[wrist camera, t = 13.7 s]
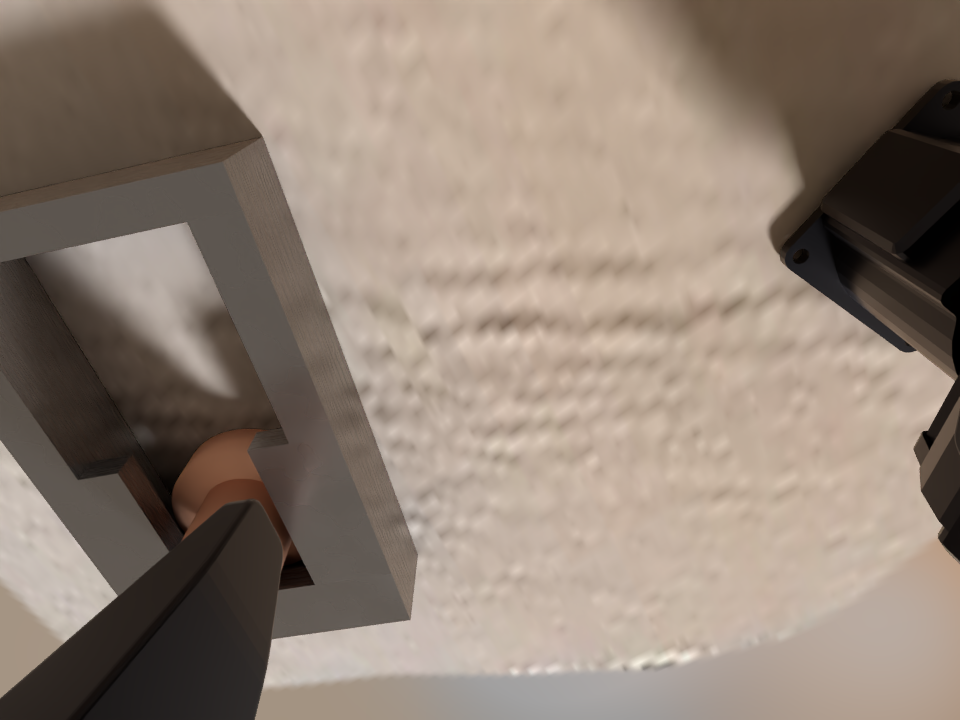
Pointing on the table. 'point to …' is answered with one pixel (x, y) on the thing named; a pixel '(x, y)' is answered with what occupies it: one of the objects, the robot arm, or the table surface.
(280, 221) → the keyhole plate
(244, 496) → the peg
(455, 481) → the table surface
